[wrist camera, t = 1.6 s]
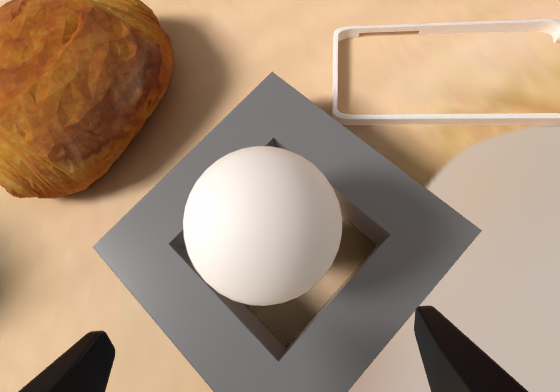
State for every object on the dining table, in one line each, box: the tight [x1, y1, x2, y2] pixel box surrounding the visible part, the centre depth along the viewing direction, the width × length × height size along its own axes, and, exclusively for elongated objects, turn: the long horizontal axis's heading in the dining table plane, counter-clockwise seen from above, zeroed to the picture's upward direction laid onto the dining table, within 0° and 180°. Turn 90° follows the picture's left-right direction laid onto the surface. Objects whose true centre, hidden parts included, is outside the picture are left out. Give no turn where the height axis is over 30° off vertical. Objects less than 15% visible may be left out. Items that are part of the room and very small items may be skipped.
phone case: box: [332, 19, 560, 127], centre depth 23 cm, size 7×1×15 cm
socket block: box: [93, 72, 481, 392], centre depth 19 cm, size 14×14×4 cm
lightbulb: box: [183, 146, 342, 306], centre depth 16 cm, size 6×6×11 cm
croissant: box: [0, 0, 174, 198], centre depth 23 cm, size 14×16×8 cm
